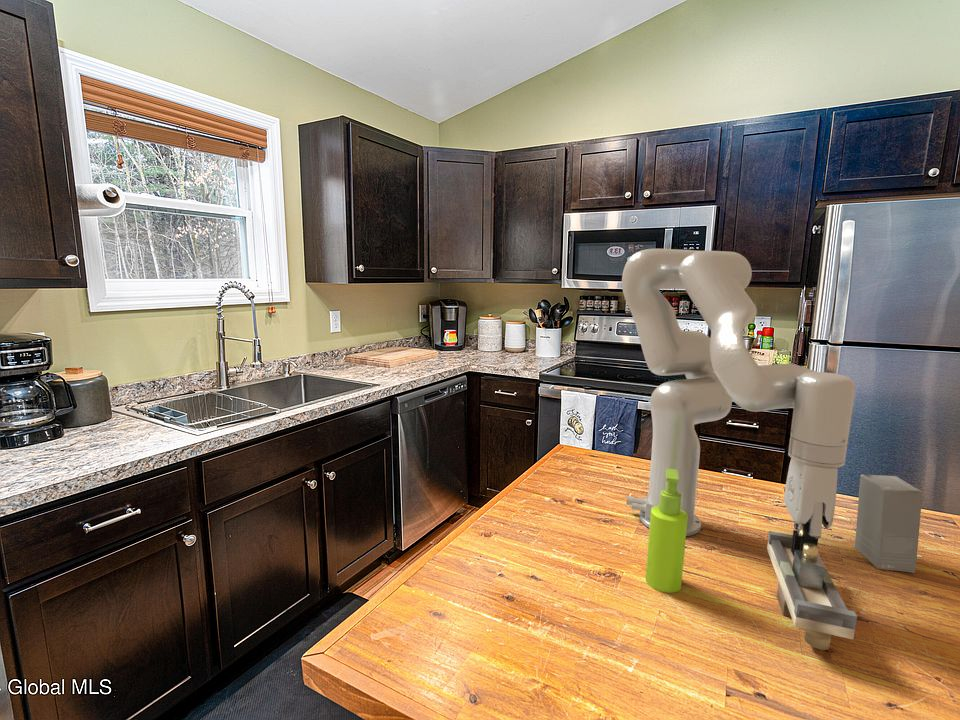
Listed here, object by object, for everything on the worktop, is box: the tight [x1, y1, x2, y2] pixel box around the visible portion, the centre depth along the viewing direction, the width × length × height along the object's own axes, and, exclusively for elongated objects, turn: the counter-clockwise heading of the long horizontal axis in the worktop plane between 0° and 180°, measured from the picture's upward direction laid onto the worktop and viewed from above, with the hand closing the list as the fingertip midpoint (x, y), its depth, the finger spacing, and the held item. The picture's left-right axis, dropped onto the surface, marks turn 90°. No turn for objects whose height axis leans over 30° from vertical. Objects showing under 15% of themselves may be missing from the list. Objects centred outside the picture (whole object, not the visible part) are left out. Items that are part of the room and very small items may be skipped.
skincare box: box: [854, 474, 924, 574], centre depth 94 cm, size 8×7×16 cm
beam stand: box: [766, 530, 858, 651], centre depth 80 cm, size 7×22×8 cm, turn 159°
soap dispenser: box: [645, 468, 688, 593], centre depth 86 cm, size 6×7×20 cm
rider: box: [792, 543, 826, 591], centre depth 78 cm, size 3×4×6 cm
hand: (802, 556), depth 82 cm, fingers closed
